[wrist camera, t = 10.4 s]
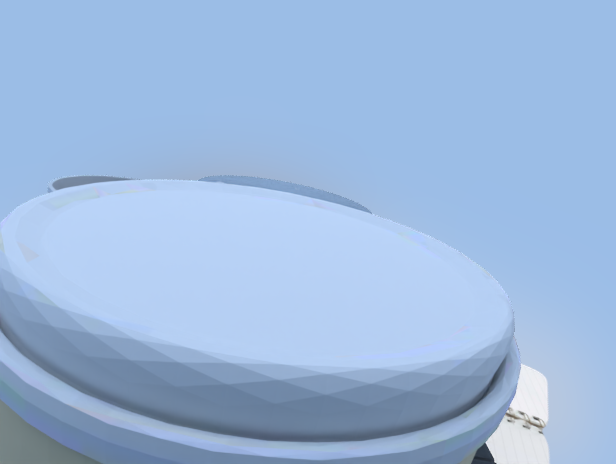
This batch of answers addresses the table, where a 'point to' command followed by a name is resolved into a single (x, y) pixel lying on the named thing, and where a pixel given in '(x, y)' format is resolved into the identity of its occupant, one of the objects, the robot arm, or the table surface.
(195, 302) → the coffee cup
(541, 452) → the table surface
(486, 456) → the robot arm
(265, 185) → the scale pan
